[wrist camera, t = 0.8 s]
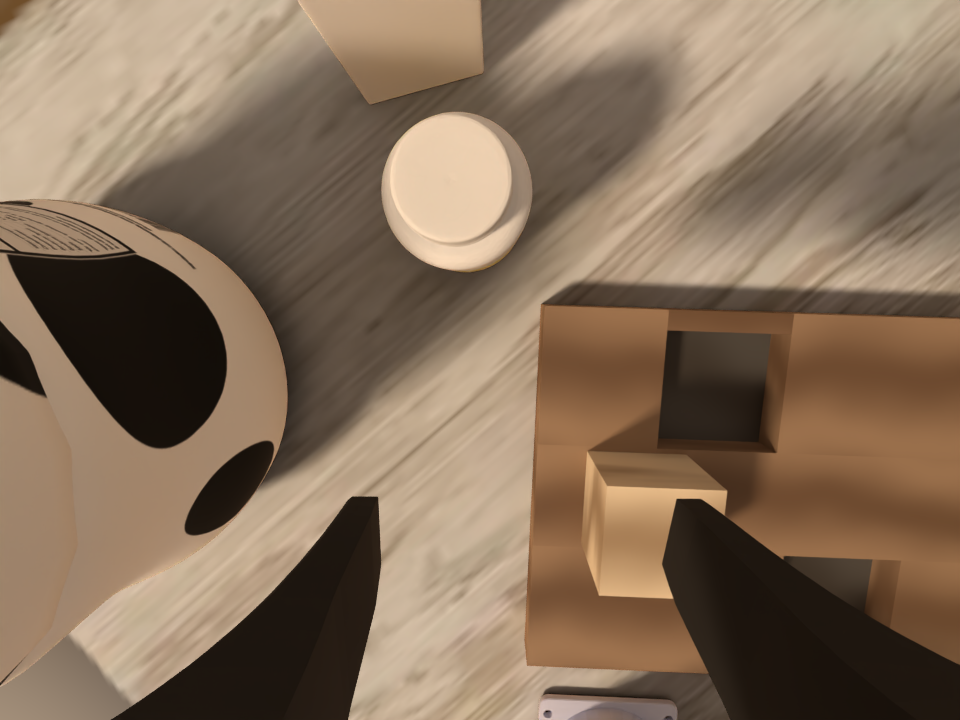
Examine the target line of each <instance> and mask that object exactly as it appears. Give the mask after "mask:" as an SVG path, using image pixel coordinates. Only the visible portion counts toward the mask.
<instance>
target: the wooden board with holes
mask: <svg viewBox="0 0 960 720" xmlns="http://www.w3.org/2000/svg"><path fill="white" fill-rule="evenodd" d="M587 451H601V452H627V453H654V454H681V455H687V456H688V457H690V458H691V459H692V460H693V461H694V462H695V463H696V464H698V465H699V466H700V467H701V468H702V469H703V470H704V471H705V472H707V473H708V474H709V475H710V476H711V477H712V478H713V479H715V480H716V481H717V482H718V483H719V484H720V485H721V486H722V487H724V488H725V489H726V490H727V498H726V507H725V516H726V517H727V518H728V519H730V520H731V521H732V522H734V523H735V524H736V525H738V526H739V527H740V528H742V529H743V530H744V531H745V532H747V533H748V534H749V535H751V536H752V537H753V538H755V539H756V540H757V541H759V542H760V543H761V544H763V545H764V546H765V547H767V548H768V549H769V550H771V551H772V552H773V553H775V554H776V555H777V556H779V557H780V558H782V559H783V560H784V561H786V562H787V563H789V564H790V565H791V566H793V567H794V568H796V569H797V570H798V571H800V572H801V573H803V574H804V575H806V576H807V577H809V578H810V579H812V580H813V581H815V582H816V583H817V584H819V585H820V586H822V587H823V588H825V589H826V590H828V591H829V592H831V593H832V594H834V595H835V596H837V597H839V598H840V599H842V600H843V601H845V602H846V603H848V604H850V605H851V606H853V607H855V608H856V609H858V610H860V611H861V612H863V613H865V614H866V615H868V616H870V617H871V618H873V619H875V620H876V621H878V622H880V623H882V624H883V625H885V626H887V627H889V628H890V629H892V630H894V631H896V632H898V633H899V634H901V635H903V636H905V637H907V638H908V639H910V640H912V641H914V642H916V643H918V644H920V645H922V646H924V647H926V648H927V649H929V650H931V651H933V652H935V653H937V654H939V655H941V656H943V657H945V658H947V659H949V660H951V661H953V662H955V663H957V664H959V665H960V317H929V316H898V315H866V314H835V313H803V312H772V311H740V310H709V309H677V308H646V307H615V306H583V305H552V304H541V315H540V335H539V356H538V376H537V397H536V418H535V438H534V459H533V479H532V500H531V520H530V541H529V562H528V582H527V603H526V623H525V649H526V660H527V666H548V667H570V668H593V669H615V670H637V671H659V672H681V673H703V674H709V673H708V671H707V669H706V667H705V665H704V663H703V661H702V659H701V657H700V655H699V653H698V651H697V648H696V646H695V644H694V642H693V640H692V638H691V636H690V634H689V632H688V630H687V628H686V626H685V624H684V622H683V620H682V617H681V615H680V613H679V611H678V609H677V607H676V605H675V602H674V599H668V598H644V597H620V596H599V594H598V591H597V588H596V585H595V582H594V579H593V576H592V573H591V570H590V567H589V564H588V562H587V559H586V556H585V553H584V550H583V547H582V544H581V538H582V523H583V507H584V492H585V477H586V461H587Z"/></svg>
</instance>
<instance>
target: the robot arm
mask: <svg viewBox="0 0 960 720" xmlns="http://www.w3.org/2000/svg"><path fill="white" fill-rule="evenodd" d="M662 566H663V569H664V572H665V575H666V579H667V582H668V585H669V588H670V591H671V593H672V596H673V599H674V602H675V605H676V607H677V609H678V611H679V613H680V615H681V617H682V620H683V622H684V624H685V626H686V628H687V630H688V632H689V634H690V636H691V638H692V640H693V642H694V644H695V646H696V648H697V651H698V653H699V655H700V657H701V659H702V661H703V663H704V665H705V667H706V669H707V671H708V673H709V675H710V677H711V679H712V681H713V683H714V685H715V687H716V689H717V691H718V693H719V695H720V697H721V699H722V702H723V704H724V706H725V708H726V711H727V713H728V715H729V717H730V720H960V665H959V664H957V663H955V662H953V661H951V660H949V659H947V658H945V657H943V656H941V655H939V654H937V653H935V652H933V651H931V650H929V649H927V648H926V647H924V646H922V645H920V644H918V643H916V642H914V641H912V640H910V639H908V638H907V637H905V636H903V635H901V634H899V633H898V632H896V631H894V630H892V629H890V628H889V627H887V626H885V625H883V624H882V623H880V622H878V621H876V620H875V619H873V618H871V617H870V616H868V615H866V614H865V613H863V612H861V611H860V610H858V609H856V608H855V607H853V606H851V605H850V604H848V603H846V602H845V601H843V600H842V599H840V598H839V597H837V596H835V595H834V594H832V593H831V592H829V591H828V590H826V589H825V588H823V587H822V586H820V585H819V584H817V583H816V582H815V581H813V580H812V579H810V578H809V577H807V576H806V575H804V574H803V573H801V572H800V571H798V570H797V569H796V568H794V567H793V566H791V565H790V564H789V563H787V562H786V561H784V560H783V559H782V558H780V557H779V556H777V555H776V554H775V553H773V552H772V551H771V550H769V549H768V548H767V547H765V546H764V545H763V544H761V543H760V542H759V541H757V540H756V539H755V538H753V537H752V536H751V535H749V534H748V533H747V532H745V531H744V530H743V529H742V528H740V527H739V526H738V525H736V524H735V523H734V522H732V521H731V520H730V519H728V518H727V517H726V516H724V515H723V514H722V513H720V512H719V511H718V510H716V509H715V508H714V507H712V506H711V505H709V504H708V503H707V502H705V501H704V500H702V499H676V503H675V508H674V512H673V517H672V521H671V525H670V530H669V534H668V539H667V543H666V548H665V552H664V556H663V561H662ZM380 569H381V549H380V527H379V505H378V497H351V498H350V499H349V500H348V501H347V502H346V504H345V505H344V506H343V508H342V509H341V511H340V512H339V513H338V515H337V516H336V517H335V519H334V520H333V522H332V523H331V524H330V525H329V527H328V528H327V529H326V531H325V532H324V533H323V535H322V536H321V537H320V538H319V539H318V541H317V542H316V543H315V544H314V546H313V547H312V548H311V549H310V550H309V552H308V553H307V554H306V555H305V556H304V558H303V559H302V560H301V561H300V562H299V563H298V565H297V566H296V567H295V568H294V569H293V570H292V571H291V572H290V573H289V574H288V575H287V576H286V578H285V579H284V580H283V581H282V582H281V583H280V584H279V585H278V586H277V587H276V588H275V589H274V590H273V591H272V593H271V594H270V595H269V596H268V597H267V598H266V599H265V600H264V601H263V602H262V603H260V604H259V605H258V606H257V607H256V608H255V609H254V610H253V611H252V612H251V613H250V614H249V615H248V616H247V617H246V618H245V619H244V620H242V621H241V622H240V623H239V624H238V625H237V626H236V627H235V628H234V629H232V630H231V631H230V632H229V633H228V634H227V635H225V636H224V637H223V638H222V639H221V640H219V641H218V642H217V643H216V644H215V645H214V646H212V647H211V648H210V649H209V650H208V651H206V652H205V653H204V654H203V655H201V656H200V657H199V658H198V659H196V660H195V661H194V662H193V663H191V664H190V665H189V666H188V667H186V668H185V669H183V670H182V671H181V672H179V673H178V674H177V675H175V676H174V677H173V678H171V679H170V680H168V681H167V682H166V683H164V684H163V685H162V686H160V687H159V688H158V689H156V690H155V691H153V692H152V693H150V694H149V695H148V696H146V697H145V698H143V699H142V700H140V701H139V702H137V703H136V704H134V705H133V706H131V707H130V708H129V709H127V710H126V711H124V712H123V713H121V714H119V715H118V716H116V717H115V718H113V719H111V720H348V717H349V712H350V707H351V703H352V699H353V695H354V691H355V687H356V683H357V679H358V675H359V671H360V667H361V663H362V659H363V655H364V651H365V647H366V643H367V639H368V635H369V631H370V627H371V623H372V619H373V614H374V610H375V606H376V599H377V592H378V585H379V577H380ZM546 710H550V712H544V711H546ZM677 713H678V711H677V707H676V705H675V703H674V702H673V701H671V700H665V699H643V698H621V697H600V696H578V695H557V694H545V695H543V696H542V697H541V698H540V700H539V713H538V720H677ZM666 716H670V717H668V718H665V717H666Z"/></svg>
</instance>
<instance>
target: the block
mask: <svg viewBox="0 0 960 720" xmlns="http://www.w3.org/2000/svg"><path fill="white" fill-rule="evenodd" d="M726 498H727V490H726V489H725V488H724V487H722V486H721V485H720V484H719V483H718V482H717V481H716V480H715V479H713V478H712V477H711V476H710V475H709V474H708V473H707V472H705V471H704V470H703V469H702V468H701V467H700V466H699V465H698V464H696V463H695V462H694V461H693V460H692V459H691V458H690V457H688V456H687V455H681V454H654V453H627V452H601V451H587V461H586V477H585V492H584V507H583V523H582V538H581V544H582V547H583V550H584V553H585V556H586V559H587V562H588V564H589V567H590V570H591V573H592V576H593V579H594V582H595V585H596V588H597V591H598V594H599V596H620V597H644V598H668V599H673V596H672V593H671V591H670V588H669V585H668V582H667V579H666V575H665V572H664V569H663V566H662V561H663V556H664V552H665V548H666V543H667V539H668V534H669V530H670V525H671V521H672V517H673V512H674V508H675V503H676V499H702V500H704V501H705V502H707V503H708V504H709V505H711V506H712V507H714V508H715V509H716V510H718V511H719V512H720V513H722V514H723V515H724V516H725V507H726Z"/></svg>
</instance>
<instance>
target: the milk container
mask: <svg viewBox="0 0 960 720" xmlns="http://www.w3.org/2000/svg"><path fill="white" fill-rule="evenodd" d="M287 400H288V393H287V379H286V371H285V366H284V361H283V357H282V353H281V350H280V346H279V343H278V340H277V338H276V335H275V333H274V330H273V328H272V326H271V324H270V322H269V320H268V318H267V316H266V314H265V312H264V310H263V309H262V307H261V306H260V304H259V302H258V301H257V299H256V298H255V297H254V295H253V294H252V293H251V291H250V290H249V288H248V287H247V286H246V285H245V284H244V283H243V281H242V280H241V279H240V278H239V277H238V276H237V275H236V274H235V273H234V272H233V271H232V270H231V269H230V268H229V267H228V266H227V265H226V264H225V263H223V262H222V261H221V260H220V259H219V258H217V257H216V256H215V255H213V254H212V253H211V252H209V251H208V250H206V249H205V248H203V247H202V246H200V245H199V244H197V243H195V242H193V241H192V240H190V239H188V238H186V237H185V236H183V235H181V234H179V233H177V232H175V231H173V230H171V229H168V228H166V227H164V226H162V225H160V224H158V223H155V222H153V221H150V220H147V219H145V218H142V217H139V216H136V215H134V214H131V213H127V212H124V211H120V210H117V209H113V208H108V207H104V206H99V205H94V204H88V203H83V202H73V201H63V200H49V199H30V200H16V201H4V202H0V687H1V686H2V685H4V684H6V683H8V682H9V681H11V680H12V679H14V678H15V677H17V676H18V675H20V674H21V673H23V672H24V671H25V670H27V669H28V668H29V667H30V666H31V665H33V664H34V663H35V662H36V661H38V660H39V659H40V658H41V657H42V656H43V655H45V654H46V653H47V652H48V651H49V650H50V649H51V648H53V647H54V646H55V645H56V644H57V643H59V642H60V641H61V640H62V639H63V638H64V637H65V636H67V635H68V634H69V633H70V632H71V631H72V630H73V629H74V628H75V627H77V626H78V625H79V624H80V623H81V622H82V621H83V620H84V619H86V618H87V617H88V616H89V615H90V614H91V613H92V612H93V611H95V610H96V609H97V608H98V607H99V606H100V605H101V604H103V603H104V602H105V601H106V600H108V599H109V598H110V597H111V596H113V595H114V594H116V593H117V592H119V591H121V590H123V589H125V588H128V587H130V586H132V585H135V584H137V583H139V582H141V581H144V580H146V579H148V578H151V577H153V576H155V575H157V574H159V573H161V572H163V571H165V570H167V569H169V568H171V567H173V566H175V565H176V564H178V563H180V562H182V561H183V560H185V559H186V558H188V557H189V556H191V555H192V554H194V553H195V552H197V551H198V550H200V549H201V548H202V547H204V546H205V545H206V544H208V543H209V542H210V541H211V540H213V539H214V538H215V537H216V536H217V535H218V534H219V533H220V532H221V531H223V530H224V529H225V528H226V527H227V526H228V525H229V524H230V523H231V522H232V521H233V520H234V519H235V518H236V516H237V515H238V514H239V513H240V512H241V510H242V509H243V508H244V507H245V506H246V504H247V503H248V502H249V501H250V499H251V498H252V496H253V495H254V493H255V492H256V491H257V489H258V488H259V486H260V484H261V483H262V481H263V479H264V478H265V476H266V474H267V472H268V470H269V468H270V467H271V465H272V463H273V461H274V458H275V456H276V454H277V451H278V449H279V446H280V443H281V440H282V436H283V432H284V427H285V422H286V415H287Z"/></svg>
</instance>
